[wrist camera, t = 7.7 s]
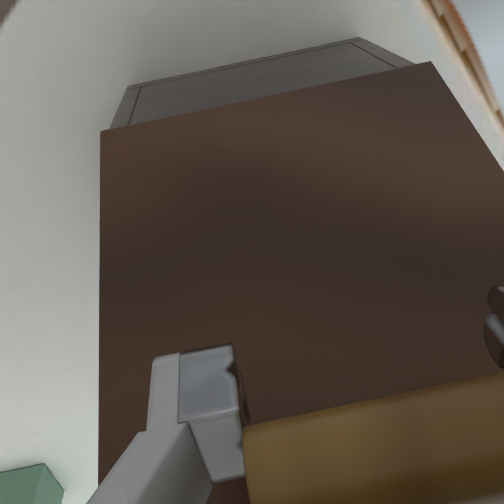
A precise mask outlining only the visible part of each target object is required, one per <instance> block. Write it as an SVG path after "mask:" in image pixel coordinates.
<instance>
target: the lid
mask: <svg viewBox="0 0 504 504" xmlns="http://www.w3.org/2000/svg"><path fill="white" fill-rule="evenodd" d="M502 284H504V171H503V170H502V168H501V167H500V165H499V164H498V162H497V161H496V159H495V158H494V156H493V155H492V153H491V151H490V150H489V148H488V147H487V145H486V144H485V142H484V141H483V139H482V138H481V136H480V135H479V133H478V132H477V130H476V129H475V127H474V126H473V124H472V123H471V121H470V120H469V118H468V117H467V115H466V114H465V112H464V111H463V109H462V108H461V106H460V105H459V103H458V102H457V100H456V99H455V97H454V95H453V94H452V92H451V91H450V89H449V88H448V86H447V85H446V83H445V82H444V80H443V79H442V77H441V76H440V74H439V73H438V71H437V70H436V68H435V67H434V65H433V64H432V62H431V61H429V62H425V63H420V64H415V65H410V66H406V67H401V68H396V69H392V70H387V71H382V72H377V73H373V74H368V75H363V76H358V77H354V78H349V79H344V80H340V81H335V82H330V83H325V84H321V85H316V86H311V87H306V88H302V89H297V90H292V91H288V92H283V93H278V94H273V95H269V96H264V97H259V98H254V99H250V100H245V101H240V102H236V103H231V104H226V105H221V106H217V107H212V108H207V109H202V110H198V111H193V112H188V113H184V114H179V115H174V116H169V117H165V118H160V119H155V120H150V121H146V122H141V123H136V124H132V125H127V126H122V127H117V128H113V129H108V130H103V131H101V132H100V280H99V441H98V487H99V485H100V484H101V483H102V481H103V480H104V479H105V477H106V476H107V474H108V473H109V472H110V470H111V469H112V468H113V466H114V465H115V464H116V462H117V461H118V459H119V458H120V457H121V455H122V454H123V453H124V451H125V450H126V449H127V447H128V446H129V444H130V443H131V442H132V440H133V439H134V438H135V436H136V435H137V434H138V433H139V432H143V431H146V428H147V417H148V406H149V395H150V384H151V372H152V363H153V361H154V359H155V357H158V356H164V355H169V354H175V353H180V352H182V351H187V350H193V349H198V348H203V347H209V346H214V345H219V344H225V343H230V342H232V343H233V344H234V348H235V351H236V354H237V360H238V367H239V371H241V373H242V376H243V380H244V385H245V389H246V394H247V399H248V405H249V411H250V418H251V420H250V422H249V426H245V427H244V428H242V433H241V442H242V454H243V463H244V470H245V477H241V478H236V479H232V480H228V481H224V482H220V483H216V484H212V486H213V488H212V491H211V493H210V495H209V497H208V500H207V502H206V504H504V369H502V368H500V367H498V365H497V364H496V362H495V361H494V360H493V358H492V357H491V355H490V353H489V351H488V349H487V347H486V343H485V339H484V334H483V331H484V320H485V319H486V318H487V317H488V316H489V314H490V313H491V312H492V311H493V310H492V308H491V307H490V306H489V305H488V304H487V299H488V293H489V291H490V290H491V288H492V287H493V286H497V285H502Z"/></svg>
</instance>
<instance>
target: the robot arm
mask: <svg viewBox="0 0 504 504" xmlns="http://www.w3.org/2000/svg"><path fill="white" fill-rule="evenodd" d="M487 304H488V305H489V306H490V307H491V308H492V310H493V311H492V312H491V313H490V314H489V316H488V317H487V318H486V319H485V320H484V331H483V334H484V339H485V343H486V347H487V349H488V351H489V353H490V355H491V357H492V358H493V360H494V361H495V362H496V364H497V365H498V367H500V368H502V369H504V284H502V285H497V286H493V287H492V288H491V290H490V291H489V293H488V299H487ZM250 420H251V418H250V411H249V405H248V399H247V394H246V389H245V385H244V380H243V376H242V373H241V371H239V367H238V360H237V354H236V351H235V348H234V344H233V343H232V342H230V343H225V344H219V345H214V346H209V347H203V348H198V349H193V350H187V351H182V352H180V353H175V354H169V355H164V356H158V357H155V359H154V361H153V363H152V372H151V384H150V395H149V406H148V417H147V428H146V431H143V432H139V433H138V434H137V435H136V436H135V438H134V439H133V440H132V442H131V443H130V444H129V446H128V447H127V449H126V450H125V451H124V453H123V454H122V455H121V457H120V458H119V459H118V461H117V462H116V464H115V465H114V466H113V468H112V469H111V470H110V472H109V473H108V474H107V476H106V477H105V479H104V480H103V481H102V483H101V484H100V485H99V487H98V488H97V489H96V491H95V492H94V494H93V495H92V496H91V498H90V499H89V500H88V502H87V503H86V504H206V502H207V500H208V497H209V495H210V493H211V491H212V488H213V486H212V484H216V483H220V482H224V481H228V480H232V479H236V478H241V477H245V470H244V463H243V454H242V442H241V433H242V428H244V427H245V426H249V422H250Z"/></svg>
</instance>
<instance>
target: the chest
mask: <svg viewBox="0 0 504 504" xmlns="http://www.w3.org/2000/svg"><path fill="white" fill-rule="evenodd" d="M410 65H415V63H412V62H410V61H408V60H406V59H404V58H402V57H400V56H398V55H396V54H394V53H392V52H390V51H388V50H386V49H384V48H382V47H380V46H378V45H375V44H373V43H371V42H369V41H367V40H364V39H362V38H360V37H359V38H355V39H350V40H345V41H340V42H336V43H331V44H326V45H321V46H317V47H312V48H307V49H303V50H298V51H293V52H288V53H284V54H279V55H274V56H269V57H265V58H260V59H255V60H250V61H246V62H241V63H236V64H232V65H227V66H222V67H217V68H213V69H208V70H203V71H198V72H194V73H189V74H184V75H179V76H175V77H170V78H165V79H160V80H156V81H151V82H146V83H142V84H137V85H132V86H128V87H127V90H126V92H125V94H124V96H123V98H122V101H121V103H120V105H119V108H118V110H117V112H116V115H115V117H114V119H113V121H112V124H111V126H110V128H109V129H113V128H117V127H122V126H127V125H132V124H136V123H141V122H146V121H150V120H155V119H160V118H165V117H169V116H174V115H179V114H184V113H188V112H193V111H198V110H202V109H207V108H212V107H217V106H221V105H226V104H231V103H236V102H240V101H245V100H250V99H254V98H259V97H264V96H269V95H273V94H278V93H283V92H288V91H292V90H297V89H302V88H306V87H311V86H316V85H321V84H325V83H330V82H335V81H340V80H344V79H349V78H354V77H358V76H363V75H368V74H373V73H377V72H382V71H387V70H392V69H396V68H401V67H406V66H410Z"/></svg>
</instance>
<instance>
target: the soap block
mask: <svg viewBox="0 0 504 504" xmlns="http://www.w3.org/2000/svg"><path fill="white" fill-rule="evenodd" d="M63 494H64V490H63V489H62V487H61V486H60V485H59V483H58V482H57V481H56V479H55V478H54V476H53V475H52V474H51V472H50V471H49V470H48V468H47V467H46V466H45V464H40V465H35V466H30V467H26V468H21V469H16V470H12V471H7V472H2V473H0V504H61V503H62V498H63Z"/></svg>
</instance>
